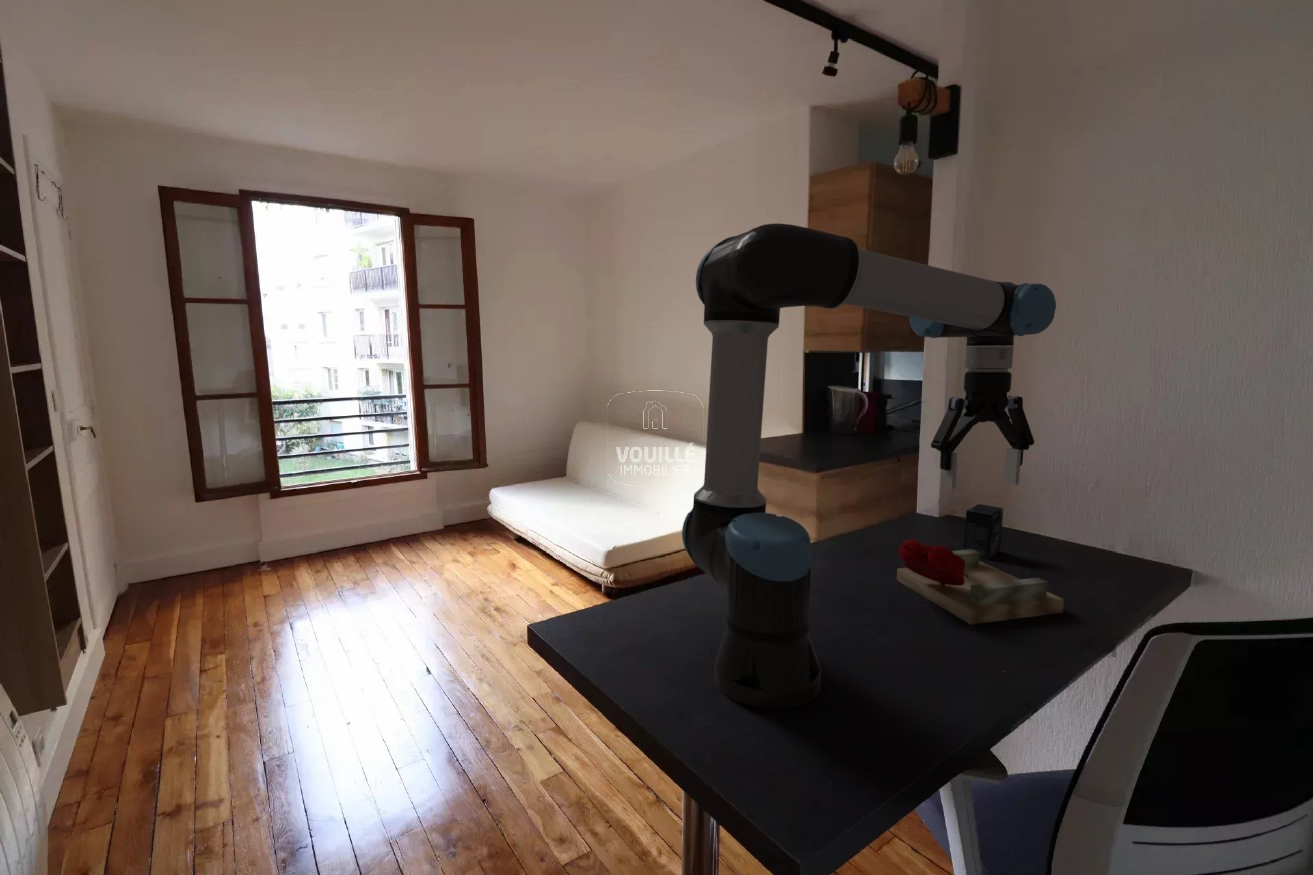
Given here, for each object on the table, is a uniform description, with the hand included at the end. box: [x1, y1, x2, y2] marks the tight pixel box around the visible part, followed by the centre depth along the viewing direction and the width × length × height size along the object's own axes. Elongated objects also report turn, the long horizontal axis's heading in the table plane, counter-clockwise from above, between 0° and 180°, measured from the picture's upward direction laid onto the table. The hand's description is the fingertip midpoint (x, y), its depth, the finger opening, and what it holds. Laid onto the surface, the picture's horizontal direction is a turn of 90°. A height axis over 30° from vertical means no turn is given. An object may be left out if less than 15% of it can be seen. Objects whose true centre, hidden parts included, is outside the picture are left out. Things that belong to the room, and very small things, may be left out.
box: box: [963, 503, 1004, 561], centre depth 140 cm, size 8×6×11 cm
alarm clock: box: [898, 539, 968, 586], centre depth 112 cm, size 10×6×15 cm
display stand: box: [896, 549, 1065, 626], centre depth 116 cm, size 19×21×6 cm
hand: (980, 485), depth 114 cm, fingers open, 13 cm apart
